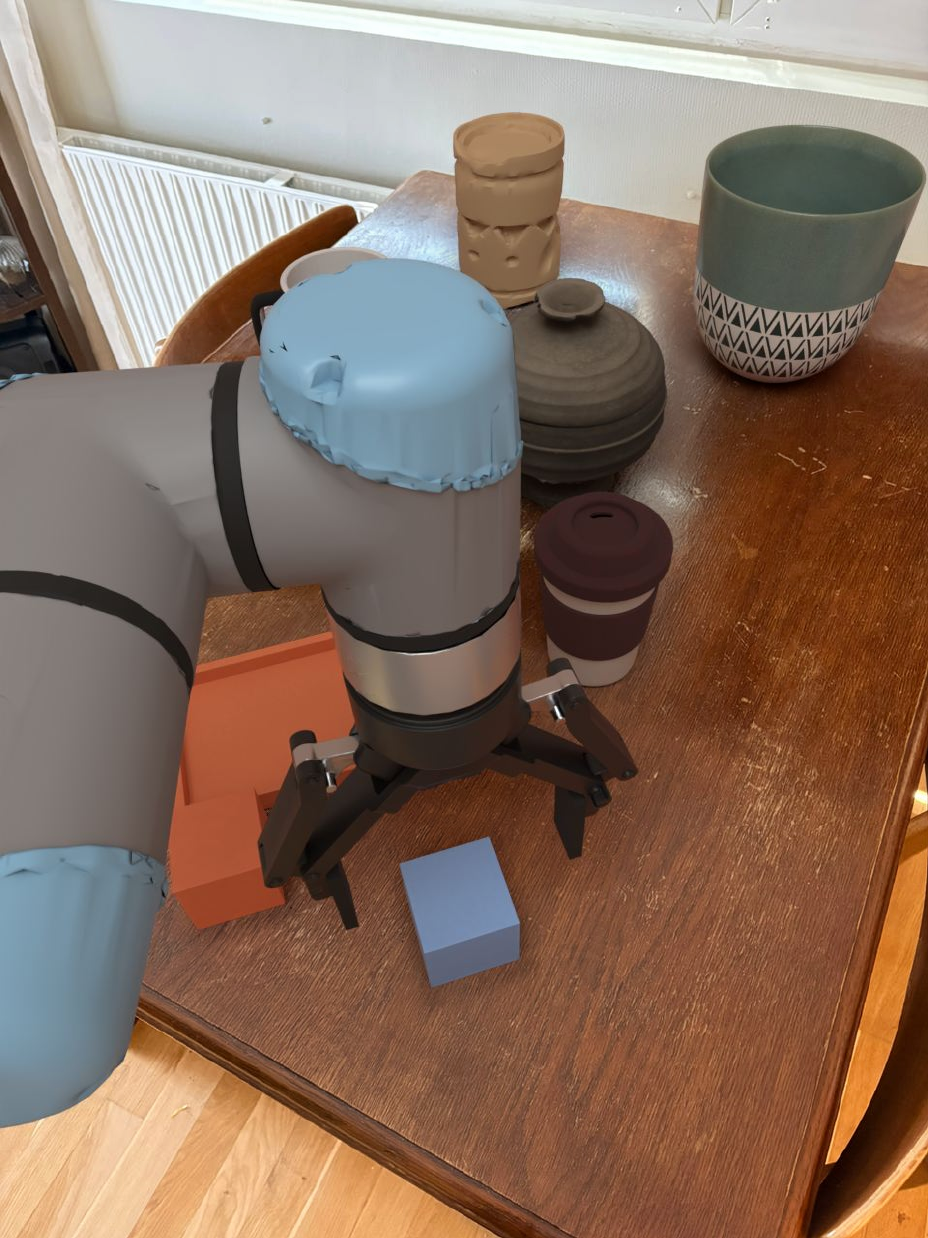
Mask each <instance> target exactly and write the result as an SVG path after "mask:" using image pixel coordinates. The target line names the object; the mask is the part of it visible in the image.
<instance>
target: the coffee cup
mask: <svg viewBox="0 0 928 1238" xmlns="http://www.w3.org/2000/svg"><path fill="white" fill-rule="evenodd" d="M673 551H674V540H673V534H672V532H671V529H670V527H669V526H668V523H667V522H666V521H665V519H663V517H661V515H660V514H659V513H657V511H655V510H654V509H653V508H651V506H648V505H647V504H645V503H643V502H641V501H638V500H637V499H635V498H632V497H630V496H628V495H626V494H622V493H618V492H614V491H613V492H612V491H608V492H592V493H586V494H583V495H580V496H576V497H572V498H569V499H567V500H564V501H562V502H560V503H558V504H557V505H555V506H554V507H552V508H549V509H548V510H547V511H546V512H545V513H544V514H543V516H542V517H541V518H540V520H539V521H538V523H537V525H536V528H535V530H534V538H533V557H534V561H535V564H536V566H537V569H538V571H539V579H540V591H541V592H540V593H541V594H540V596H541V609H542V611H541V612H542V621H543V627H544V631H545V633H546V645H547V656H548V659H549V661H550V662H551V661H552V660H555V659H557V658H561V657H563V658H567V659H568V660H569V662H570V664H571V666H572V668H573V670H574V671H575V673H576V676H577V678H578V680H579V682H580V684H581V686H583V687H603V686H608V685H612V684H614V683H617V682H618V681H620V680H622V679H623V678H624V677H626V676H627V674H628V673H630V671H631V669H632V668H633V666H634V665H635V662H636V660H637V655H638V651H639V648H640V644H641V642H642V641H643V640H644V638H645V636H646V633H647V629H648V627H649V623H650V619H651V616H652V612H653V610H654V609H653V608H654V605H655V602H656V598H657V595H658V590H659V587H660V583H662V581H663V580H664V579H665V577H666V575H667V573H668V572H669V568H670V566H671V564H672V563H671V562H672V557H673Z"/></svg>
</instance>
